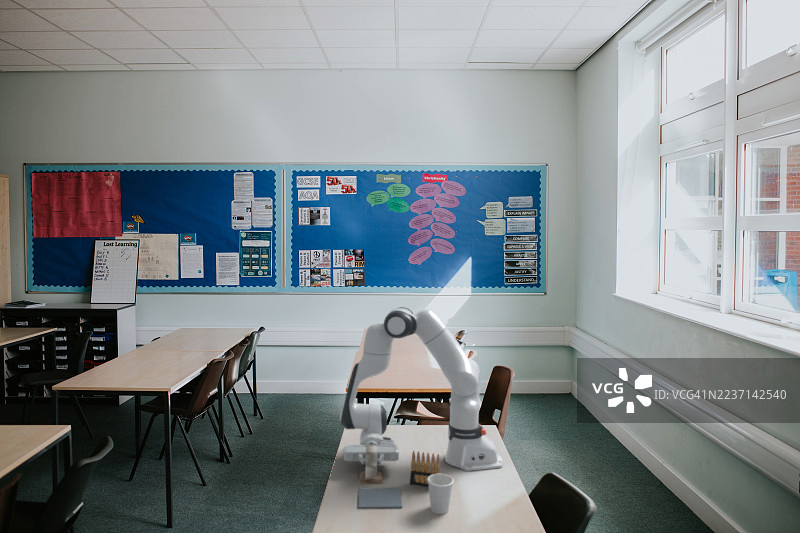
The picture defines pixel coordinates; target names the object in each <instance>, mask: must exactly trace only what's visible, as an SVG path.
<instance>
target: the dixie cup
mask: <svg viewBox="0 0 800 533" xmlns="http://www.w3.org/2000/svg"><path fill="white" fill-rule="evenodd" d="M427 481H428V485H429V487H428V493H429V494H428V495H429V503H430V504H429V505H430V511H431V512H432V513H434V514H437V515H444V514H447V513H448V512H449V511H450V510H449V509H450V503H451V496H452V490H453V484H454V478H453V477H452V476H450V475H448V474H445V473H440V474H433V475H430V476H429V477H428V479H427Z"/></svg>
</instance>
